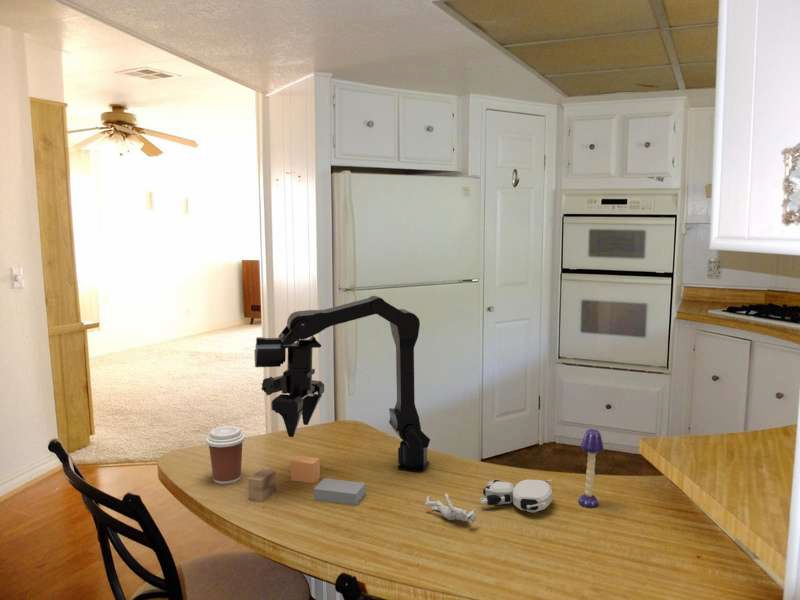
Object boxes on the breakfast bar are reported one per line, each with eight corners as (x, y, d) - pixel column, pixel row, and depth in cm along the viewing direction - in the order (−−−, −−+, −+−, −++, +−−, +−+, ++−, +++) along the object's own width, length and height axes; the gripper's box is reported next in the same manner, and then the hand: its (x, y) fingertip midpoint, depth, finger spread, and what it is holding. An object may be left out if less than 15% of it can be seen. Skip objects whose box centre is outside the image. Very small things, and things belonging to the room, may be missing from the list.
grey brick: (365, 495, 144) (365, 483, 143) (356, 507, 138) (356, 494, 138) (324, 490, 147) (324, 478, 146) (314, 501, 141) (313, 488, 141)
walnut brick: (263, 488, 147) (262, 468, 146) (276, 491, 146) (275, 470, 145) (248, 499, 141) (247, 478, 141) (261, 502, 140) (261, 480, 139)
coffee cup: (216, 489, 146) (214, 440, 145) (201, 477, 153) (199, 429, 152) (253, 479, 152) (251, 431, 150) (236, 467, 159) (235, 421, 157)
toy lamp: (602, 501, 139) (605, 429, 137) (599, 510, 135) (602, 435, 133) (580, 497, 141) (582, 426, 139) (576, 506, 137) (579, 432, 135)
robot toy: (478, 515, 135) (549, 521, 130) (476, 495, 135) (548, 500, 130) (489, 492, 147) (555, 496, 142) (487, 473, 146) (554, 477, 142)
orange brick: (320, 478, 153) (319, 458, 152) (313, 484, 149) (312, 463, 149) (298, 475, 155) (297, 455, 154) (291, 480, 152) (290, 460, 151)
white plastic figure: (443, 508, 139) (488, 507, 131) (437, 530, 136) (483, 530, 128) (422, 491, 135) (467, 489, 127) (416, 513, 132) (462, 512, 125)
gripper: (283, 355, 158) (282, 415, 160) (249, 371, 140) (249, 439, 142) (325, 359, 156) (324, 420, 158) (297, 376, 138) (295, 445, 140)
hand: (298, 430), depth 150 cm, fingers open, 9 cm apart
